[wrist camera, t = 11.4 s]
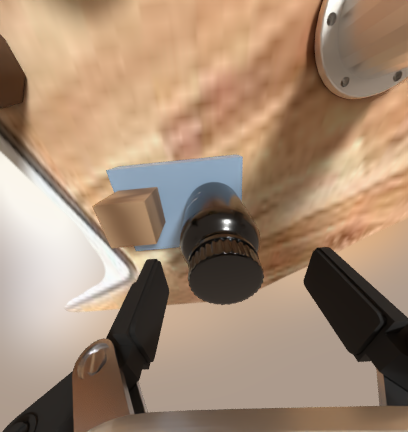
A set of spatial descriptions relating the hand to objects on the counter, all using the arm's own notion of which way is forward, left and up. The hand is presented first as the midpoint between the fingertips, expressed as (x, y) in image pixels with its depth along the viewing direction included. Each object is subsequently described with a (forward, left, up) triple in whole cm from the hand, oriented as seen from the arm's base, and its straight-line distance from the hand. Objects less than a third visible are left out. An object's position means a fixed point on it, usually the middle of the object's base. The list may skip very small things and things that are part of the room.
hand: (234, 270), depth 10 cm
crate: (+10, 0, -12) cm, 15 cm away
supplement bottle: (0, 0, -12) cm, 12 cm away
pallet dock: (+5, +1, -15) cm, 15 cm away
